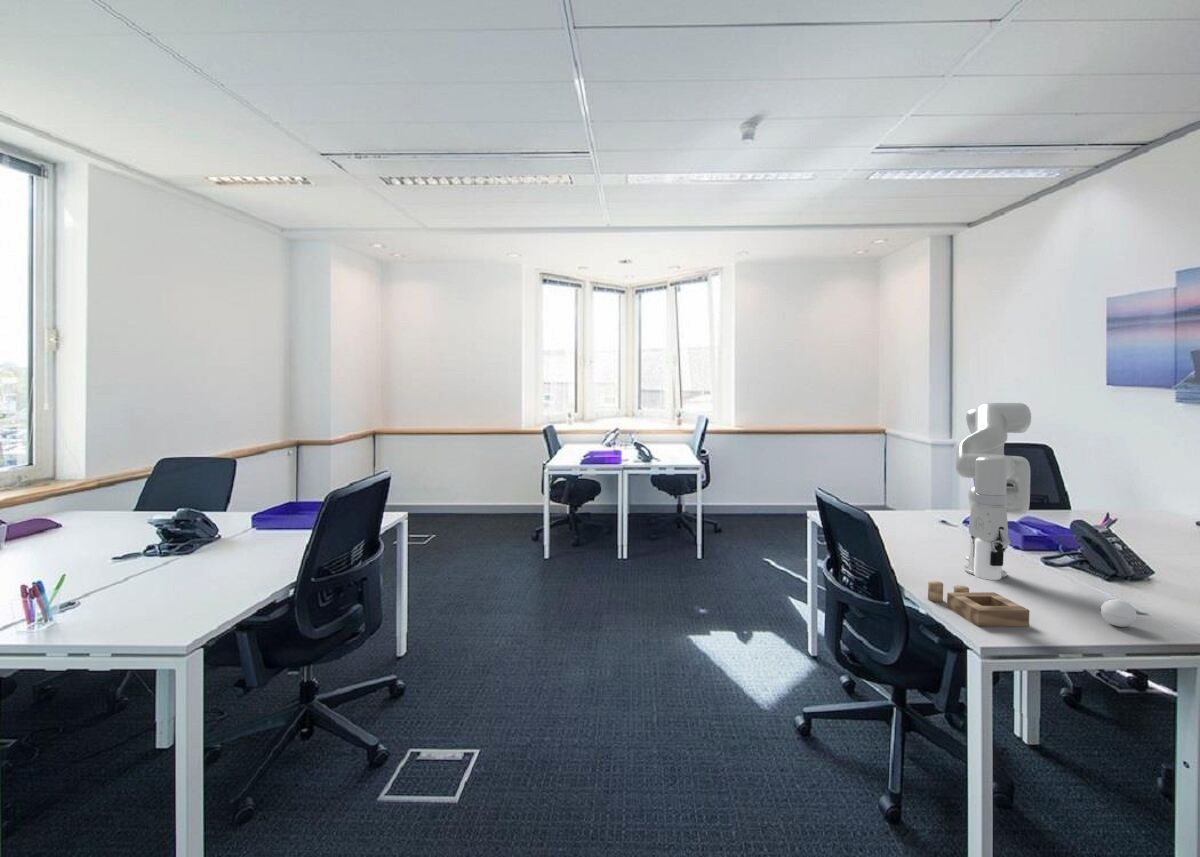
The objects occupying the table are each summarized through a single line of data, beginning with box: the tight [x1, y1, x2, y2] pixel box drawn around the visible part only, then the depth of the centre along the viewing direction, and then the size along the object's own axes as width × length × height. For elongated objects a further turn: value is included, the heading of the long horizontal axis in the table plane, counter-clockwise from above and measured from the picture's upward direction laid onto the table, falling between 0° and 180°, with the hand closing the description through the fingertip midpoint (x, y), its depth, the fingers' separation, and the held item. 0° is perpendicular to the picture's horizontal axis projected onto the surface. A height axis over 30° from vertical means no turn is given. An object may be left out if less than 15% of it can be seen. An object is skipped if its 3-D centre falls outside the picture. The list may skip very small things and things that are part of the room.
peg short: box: [953, 584, 970, 593], centre depth 174 cm, size 4×4×4 cm
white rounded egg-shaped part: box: [1100, 598, 1138, 628], centre depth 153 cm, size 10×7×7 cm
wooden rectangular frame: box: [946, 591, 1031, 627], centre depth 161 cm, size 14×14×4 cm
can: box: [974, 538, 1003, 582], centre depth 159 cm, size 6×6×12 cm
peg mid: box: [927, 580, 944, 603], centre depth 174 cm, size 4×4×6 cm
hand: (987, 561), depth 159 cm, fingers closed on can, 6 cm apart
